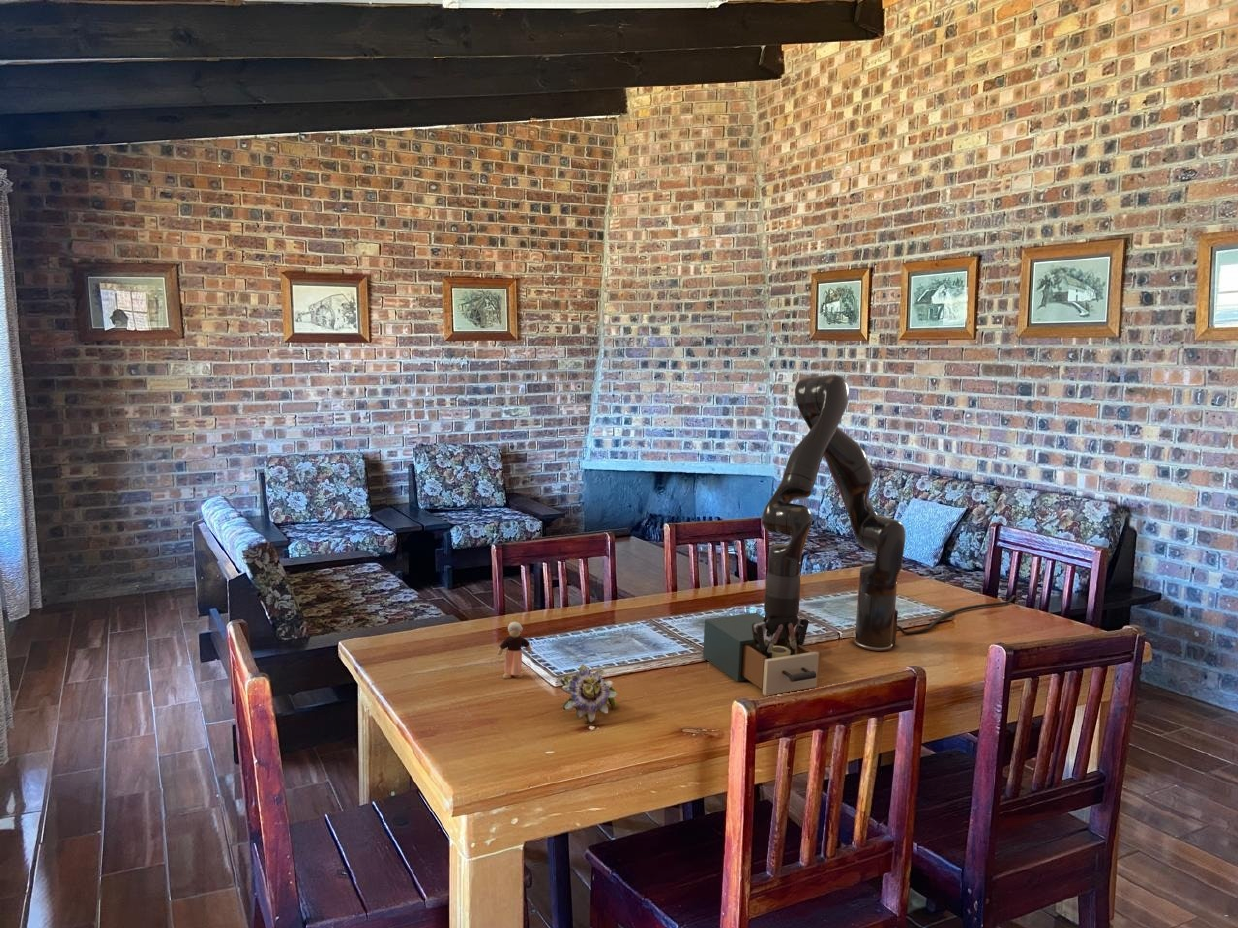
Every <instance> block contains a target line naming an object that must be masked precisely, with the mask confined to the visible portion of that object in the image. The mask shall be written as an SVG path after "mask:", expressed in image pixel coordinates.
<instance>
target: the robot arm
mask: <svg viewBox="0 0 1238 928" xmlns="http://www.w3.org/2000/svg"><path fill="white" fill-rule="evenodd" d="M794 398H795V404H796V406H797V409H798V412H799V413H800V415H801V417H802V418H803V421H804V423H806V425H807V427H808V428H809V432H807V434H806V435H805V436H804V437H803V438H802V439H801V440H800V442H799V443H798V444H797V445H796V447H795V448H794V449H793V450H792V452H791V453H790V455H789V457H788V460H787V461H786V465H785V468H784V472H783V475H782V478H781V481H780V483H779V485H778V487H777V488H776V490H775V491H774V492H773V495H772V496H771V497H770V498H769V500H768V502H767V503H766V504H765V506H764V509H763V511H762V516H761V522H762V526H763V528H764V529H765V531H766V532H768V533H771V534H776V535H780V536H781V535H782V536H787V537H790V541H789V542H788V543H776V544H773V545H772V546H770V547H769V550H768V558H767V574H766V578H765V587H764V588H765V590H764V605H763V611H764V617H765V618H764V620H763V622H761V623H758V624H756V623H753V624H752V632H753V639H754V646H755V647H756V648H758V649H759V650H761V651H762V655H764V656H766V657H767V659H771V658H772V652H771V651H772V649H773V646H774V644H776V642H777V640H778V638H780V637H784V638H785V641H786V645H787V646H785V647H786V648H788V649H790V651H791V654H790V655H795V649H796V648H797V646H798V645H802V646H803V645H804V643H805V639H806V636H807V635H806V634H807V631H808V627H809V623H810V621H809V620H808V619H807V618H806V617H803V616H799V617H798V615H799V612H800V600H801V599H800V598H801V567H802V565H801V564H802V554H803V550H804V547H805V545H806V541H807V538H808V535H809V533H810V530H811V528H812V524H813V514H812V512H811V509H810V508H808V506H806V505H803V504H798V503H792V502H794V501H797V500H805V499H807V498H809V497H810V496H811V495H812V493H813V490H814V487H815V484H816V480H817V477H818V473H819V470H820V467H821V464H822V461H823V458H824V460H825V462H826V465H827V468H828V470H829V472H830V475H831V477H832V479H833V482H834V484H835V486H836V488H837V490H838V492H839V494H840V497H841V499H842V501H843V504H844V507H845V509H846V512H847V515H848V518H849V521H850V524H851V529H852V531H853V535H854V537H855V540H856V542H857V543H858V545H859V546H860V547H862V548H863V549H864V550H866V551H869V552H872V553H875V559H874V563H866V564H863V565H861V567H860V568H859V576H858V588H857V590H858V591H857V604H856V615H855V627H854V630H853V636H854V638H853V643H854V645H855V646H857V647H859V648H861V649H864V650H868V651H875V652H884V651H890V650H891V649H892V648H893V647H895V646H896V639H897V633H898V630H899V631H900V632H901V633H902V634H903V635H915V634H919V633H923V632H927V631H928V630H929V631H930V630H931V629H932V628H933V627H934V626H935V625H937V623H940V622H941V621H942V620H944V619H945V618H947V617H949V616H951V615H954V614H956V613H959V612H964V611H967V610H973V609H978V608H987V607H994V606H1003V605H1008V604H1011V603H1012V601H1014V600H1015V601H1017V600H1018V597H1016V595H1014V594H1013V595H1012V596H1010V598H1009V599H1008V600H1006V601H1001V602H990V603H983V604H975V605H970V606H964V607H960V608H957V609H953V610H951V611H948V612H946V613H945V614H943V615H941V616H939V617H937V618H936V619H935V620H934V621H932V622H931V623H930V624H929V625H928V626H926V627H923V628H920V629H917V630H911V631H910V630H908V631H907V630H904V628H903V627H902V626H900V625H898V615H899V611H898V609H897V608H896V603H897V593H898V580H899V575H900V573H901V571H902V567H903V560H904V554H905V553H904V552H905V545H906V529H905V526H904V524H903V523H902V522H901V521H899V520H897V519H895V518H890V517H886V516H883V515H879V514H878V512H877V511H876V509H875V508H874V506H873V504H872V501H871V499H870V493H871V489H872V486H873V481H874V473H873V469H872V466H871V463H870V461H869V459H868V457H867V454H866V451H865V450H864V449H863V447H862V446H861V445H860V444H859V443H858V442H857V441H856V440H854V439H853V438H852V437H851V436H850V435H849V434H847V433H846V432H845V431H843V429H841V428H840V427H839V424H840V423H841V420H842V419H843V416H844V414H845V412H846V409H847V407H848V404H849V399H850V388H849V385H848V383H847V381H846V379H845V378H844V377H843V376H841V375H838V374H827V375H816V376H807V377H803V378H801V379H799V381H797V383H796V385H795V388H794ZM795 626H796V629H795V633H794V630H793V629H794V627H795ZM764 628H766V631H764ZM764 632H765V634H764V636H763V633H764ZM770 635H771V636H773V637H772V638H771V637H770ZM767 645H768V646H767Z"/></svg>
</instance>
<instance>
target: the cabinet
mask: <svg viewBox="0 0 1238 928" xmlns="http://www.w3.org/2000/svg"><path fill="white" fill-rule="evenodd" d="M764 618H765V616H763V615H761V613H760V614H759V613H757V612H750V613H744V614H736V615H735V614H734V615H726V616H719V617H711V618H705V619H704V630H703V648H702V649H703V650H702V651H703V653H702V658H704V659H705V660H706V661H708V662H709V663H710V664H712V665H713V666H714V667H715V668H718V669H719V670H720V671H722V673H724V674H726V675H727V676H728V677H730V678H731V679H732V680H734V681H736V682H737V683H740V682H745V681H749V680H748V679H746V678H745V677H743V676H742V675H741V664H742V646H743V644H748V643H754V639H753V632H752V624H753V623H756V624H758V623H761V622H763V620H764ZM764 631H766V628H764ZM764 634H765V632H764V633H763V636H764ZM770 637H771V638H772V637H773V636H771V635H770ZM782 638H784V637H780V638H778V639H782Z"/></svg>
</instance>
